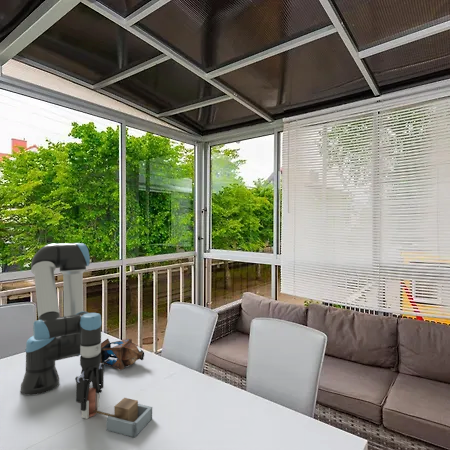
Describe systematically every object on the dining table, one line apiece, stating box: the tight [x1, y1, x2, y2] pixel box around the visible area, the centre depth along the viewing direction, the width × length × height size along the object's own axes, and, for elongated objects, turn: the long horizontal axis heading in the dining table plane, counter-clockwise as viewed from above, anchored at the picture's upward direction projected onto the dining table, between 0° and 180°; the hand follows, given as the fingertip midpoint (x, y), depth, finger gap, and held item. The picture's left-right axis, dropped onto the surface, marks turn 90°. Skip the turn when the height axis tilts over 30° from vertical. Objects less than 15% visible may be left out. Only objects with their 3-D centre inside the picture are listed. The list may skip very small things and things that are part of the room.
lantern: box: [100, 338, 145, 371], centre depth 165 cm, size 16×16×25 cm
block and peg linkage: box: [87, 387, 139, 422], centre depth 120 cm, size 22×6×9 cm, turn 72°
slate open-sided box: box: [105, 403, 153, 438], centre depth 117 cm, size 12×11×4 cm
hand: (90, 413), depth 123 cm, fingers closed on block and peg linkage, 5 cm apart
